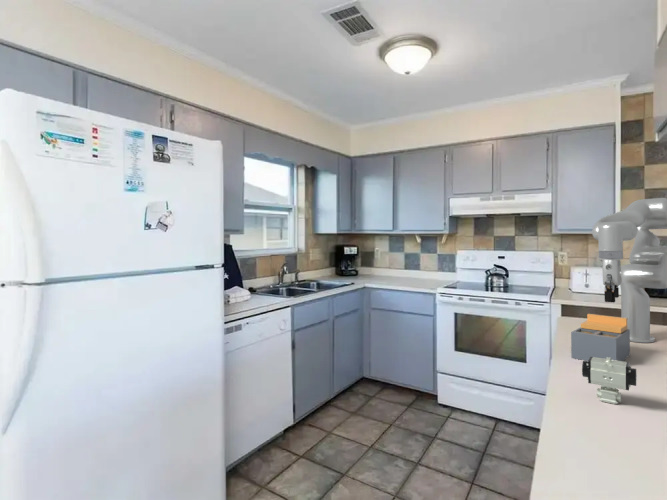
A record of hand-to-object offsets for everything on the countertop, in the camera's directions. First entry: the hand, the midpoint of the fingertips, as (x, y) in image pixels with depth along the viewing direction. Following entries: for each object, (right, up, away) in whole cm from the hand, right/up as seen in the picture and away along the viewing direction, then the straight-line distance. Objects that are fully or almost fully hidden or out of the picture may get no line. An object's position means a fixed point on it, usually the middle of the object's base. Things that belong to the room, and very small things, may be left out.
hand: (611, 299), depth 148 cm
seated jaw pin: (-14, -20, -6) cm, 25 cm away
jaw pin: (-9, -20, -12) cm, 25 cm away
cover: (-6, -10, -4) cm, 13 cm away
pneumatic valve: (-33, -22, -44) cm, 59 cm away
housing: (-9, -20, -7) cm, 23 cm away
